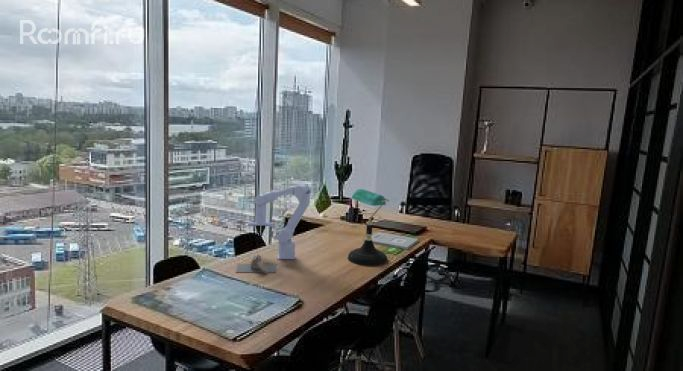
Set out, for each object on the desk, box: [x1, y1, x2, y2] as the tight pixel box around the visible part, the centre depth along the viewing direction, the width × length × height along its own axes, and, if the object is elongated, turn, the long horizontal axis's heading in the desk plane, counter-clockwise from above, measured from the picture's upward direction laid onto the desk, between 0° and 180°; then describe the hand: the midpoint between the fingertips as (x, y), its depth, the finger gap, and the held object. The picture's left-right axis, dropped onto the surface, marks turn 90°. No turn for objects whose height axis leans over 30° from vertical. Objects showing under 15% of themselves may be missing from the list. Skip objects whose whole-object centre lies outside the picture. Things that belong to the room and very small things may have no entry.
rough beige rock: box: [250, 254, 268, 274], centre depth 224 cm, size 6×14×7 cm, turn 34°
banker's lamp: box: [347, 188, 390, 267], centre depth 248 cm, size 26×23×40 cm
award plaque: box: [363, 231, 419, 251], centre depth 293 cm, size 25×30×2 cm
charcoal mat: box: [235, 263, 277, 274], centre depth 227 cm, size 20×12×1 cm, turn 99°
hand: (260, 238), depth 250 cm, fingers closed
